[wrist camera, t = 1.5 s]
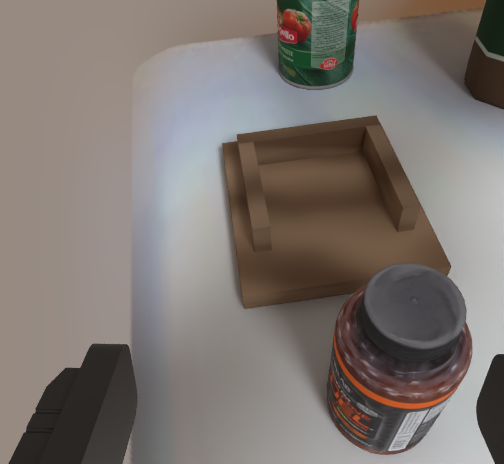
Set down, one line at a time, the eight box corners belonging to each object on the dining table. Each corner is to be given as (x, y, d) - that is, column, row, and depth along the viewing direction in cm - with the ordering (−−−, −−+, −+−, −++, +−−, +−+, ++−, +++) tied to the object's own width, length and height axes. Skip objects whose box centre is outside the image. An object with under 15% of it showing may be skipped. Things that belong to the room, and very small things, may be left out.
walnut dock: (224, 156, 43) (218, 119, 40) (377, 135, 43) (383, 97, 40) (244, 308, 32) (238, 274, 29) (445, 279, 33) (461, 242, 30)
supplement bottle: (305, 391, 28) (308, 284, 20) (380, 338, 30) (413, 220, 22) (374, 482, 25) (413, 402, 16) (454, 417, 27) (528, 314, 18)
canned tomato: (368, 66, 50) (382, -47, 42) (318, 99, 47) (322, -16, 39) (313, 42, 55) (315, -65, 46) (263, 71, 51) (256, -39, 43)
